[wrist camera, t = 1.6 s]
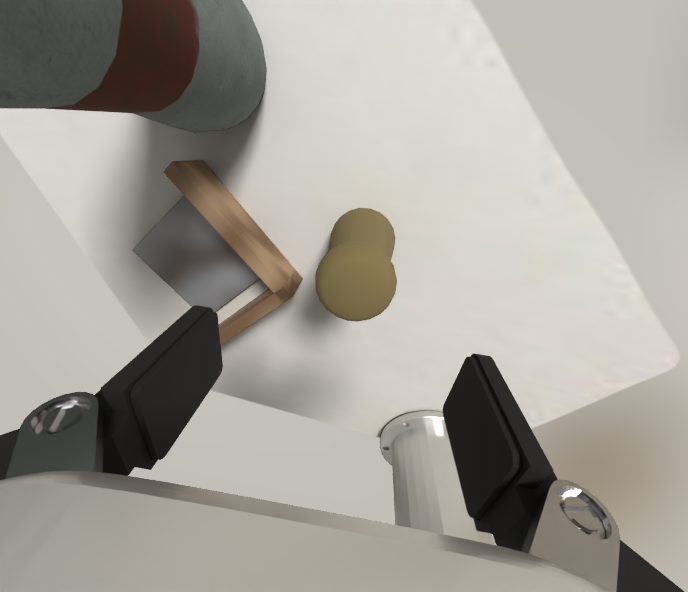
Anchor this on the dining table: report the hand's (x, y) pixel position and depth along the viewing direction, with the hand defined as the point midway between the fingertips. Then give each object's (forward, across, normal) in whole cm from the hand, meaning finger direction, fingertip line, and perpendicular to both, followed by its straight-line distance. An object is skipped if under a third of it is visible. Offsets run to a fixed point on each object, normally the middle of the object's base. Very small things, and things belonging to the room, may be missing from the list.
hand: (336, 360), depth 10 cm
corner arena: (+18, +16, +6) cm, 24 cm away
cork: (+18, 0, +1) cm, 18 cm away
